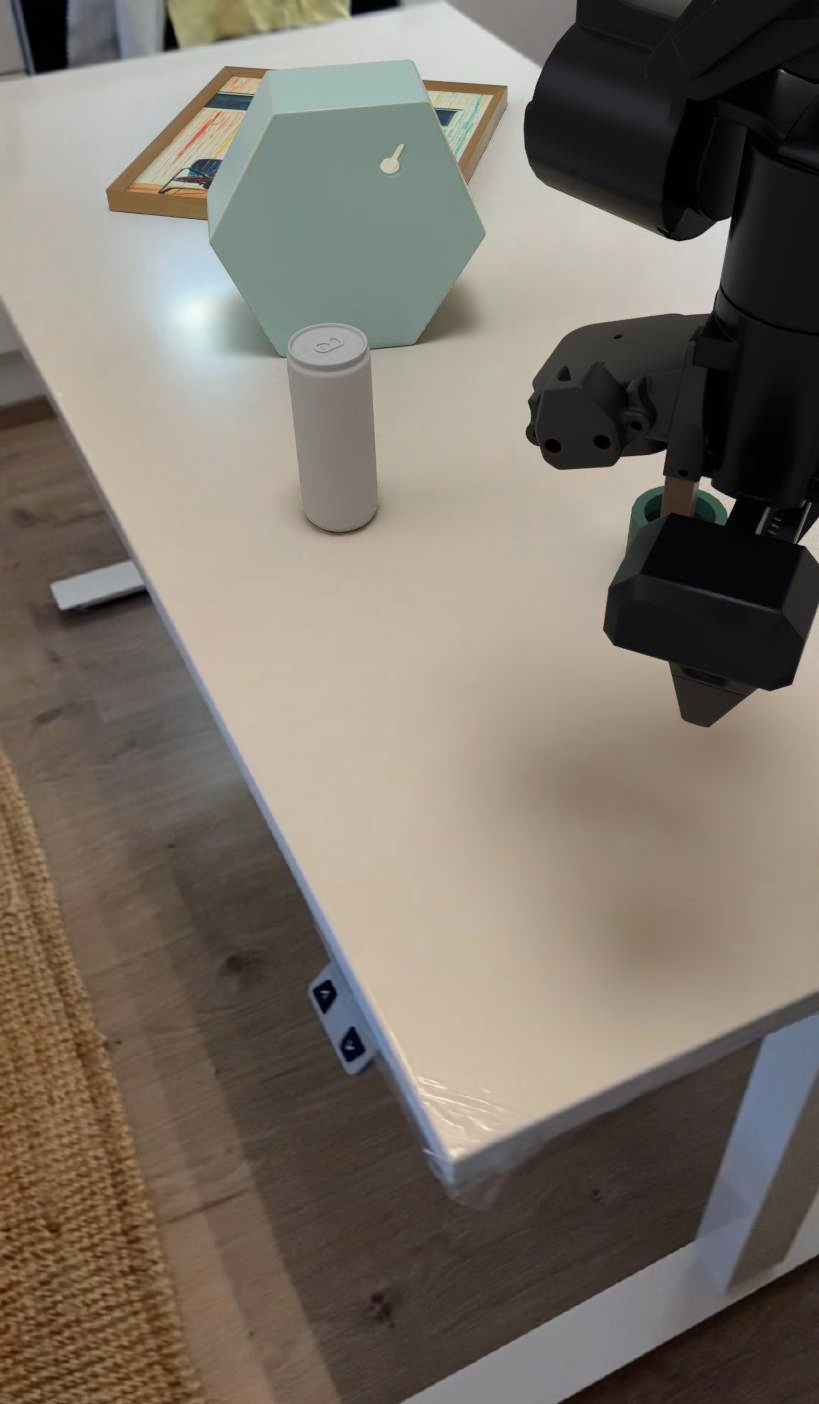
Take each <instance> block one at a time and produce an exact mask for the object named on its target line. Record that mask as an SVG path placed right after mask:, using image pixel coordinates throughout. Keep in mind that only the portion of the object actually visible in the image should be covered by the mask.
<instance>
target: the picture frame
mask: <svg viewBox="0 0 819 1404" xmlns="http://www.w3.org/2000/svg"><path fill="white" fill-rule="evenodd" d="M269 70H277V69H275V68H261V67H245V66H232V65H231V66H230V65H224V66H223V67H222V68H221V69H220V70H219V71H218V72H217V73H216V74H215V76H214V77H212V79H210V81H209V82H207V84H205V86H204V87H203V88H202V89H201V90H200V91H199V92H198V93H197V94H196V95H195V96H194V97H193V98H192V99H191V100H190V101H189V102H188V104H186V106H184V108H183V109H182V110H181V111H180V112H179V113H178V114H177V115H176V116H175V117H174V118H173V119H172V120H171V121H170V122H169V123H168V124H167V125H166V126H165V128H164V129H162V131H160V133H159V134H158V135H156V136H155V138H154V139H153V140H152V141H151V142H150V143H149V144H148V145H147V146H146V147H145V148H144V149H143V150H142V151H141V152H140V153H139V154H138V156H136V158H134V160H133V161H132V162H131V163H130V164H129V165H128V166H127V167H126V168H124V170H123V171H122V172H121V173H120V174H119V175H118V176H117V177H116V178H115V179H114V180H113V182H112V183H110V185H109V186H108V187H107V188H106V189H105V193H106V198H107V204H108V208H109V211H113V212H122V213H131V214H141V215H142V214H144V215H153V216H154V215H155V216H163V217H175V218H183V219H184V218H186V219H195V220H205V221H208V214H207V197H206V195H207V192H208V190H209V187H210V185H211V183H212V181H213V179H214V177H215V175H216V173H217V171H218V169H219V167H220V165H221V163H222V161H223V159H224V157H225V154H226V152H227V150H228V148H229V146H230V144H231V142H232V140H233V138H234V136H235V134H236V132H237V130H238V128H239V126H240V124H241V122H242V120H243V118H244V115H245V113H246V111H247V109H248V107H249V105H250V103H251V101H252V99H253V97H254V95H255V93H256V91H257V89H258V87H259V85H260V83H261V81H262V79H263V77H264V75H265V73H266V72H267V71H269ZM422 81H423V83H424V86H425V88H426V90H427V93H428V95H429V97H430V100H431V102H432V104H433V107H434V109H435V111H436V114H437V116H438V119H439V121H440V123H441V126H442V128H443V130H444V133H445V135H446V137H447V140H448V142H449V144H450V147H451V149H452V151H453V154H454V156H455V158H456V161H457V163H458V165H459V168H460V170H461V172H462V175H463V177H464V179H465V182H466V184H467V185H468V184H469V182H470V180H471V178H472V176H473V174H474V172H475V170H476V169H477V166H478V164H479V162H480V160H481V158H482V156H483V155H484V152H485V151H486V148H487V146H488V144H489V142H490V140H491V138H492V136H493V135H494V132H495V130H496V128H497V126H498V124H499V122H500V121H501V119H502V117H503V114H504V113H505V110H506V108H507V106H508V98H509V97H508V94H509V85H503V84H502V85H501V84H489V83H475V82H474V83H473V82H461V81H460V82H459V81H444V80H433V79H432V80H431V79H422ZM403 147H404V144H400V145H399V146H398V148H397V149H396V151H395V153H394V154H393V156H392V158H386V159H384V160H383V161H382V162H381V164H380V168H381V170H382V171H383V172H385V173H388V174H392V173H394V172H396V171H397V170H398V168H399V162H398V160H397V158H398V156H399V154H400V152H401V150H402V148H403Z"/></svg>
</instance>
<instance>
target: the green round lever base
mask: <svg viewBox="0 0 819 1404" xmlns="http://www.w3.org/2000/svg"><path fill="white" fill-rule="evenodd" d="M663 491H664V485H659V486H656V487H653V488H650V489H647V490H645V491H644V492H643V493H642V494H640V495H639V496H638V497H636V499H635V501H634V502H633V504H632V506H631V511H630V519H629V525H628V533H627V540H626V546H625V553H624V557H625V556H626V554H627V552H628V550H629V548H630V546H631V544H632V542H633V540H634V538H635V537H636V535H637V533H638V531H639V529H640V527H642V526H644V525H646V524H648V523H650V522H652V521H654V520H656V519H658V518H660V513H661V506H662V498H663ZM728 517H729V515H728V511H727V508H726V507H725V506H724V505H723V503H722V502H721V501H720V499H718V498H717V497H716V496H714V495H712V494H711V493H710V492H707V491H705V490H702V489H700V488H699V489H698V495H697V500H696V506H695V512H694V518H696V519H700V520H704V521H708V522H712V523H716V524H720V525H724V526H725V524H726V521H727V519H728Z"/></svg>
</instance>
